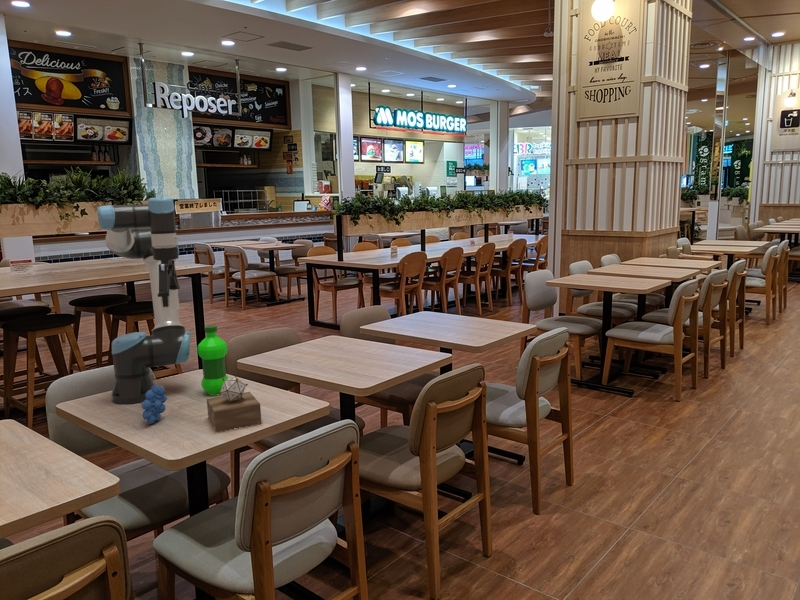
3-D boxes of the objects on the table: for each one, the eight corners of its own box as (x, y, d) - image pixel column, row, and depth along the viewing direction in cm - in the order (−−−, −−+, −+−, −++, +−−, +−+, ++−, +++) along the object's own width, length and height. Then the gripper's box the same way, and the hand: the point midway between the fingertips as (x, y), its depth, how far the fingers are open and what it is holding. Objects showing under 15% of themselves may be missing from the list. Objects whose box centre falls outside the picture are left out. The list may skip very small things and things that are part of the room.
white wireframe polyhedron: (240, 412, 196) (250, 391, 190) (213, 407, 192) (223, 385, 187) (242, 391, 202) (251, 371, 197) (216, 386, 199) (225, 365, 194)
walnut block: (208, 419, 199) (206, 399, 198) (251, 411, 206) (249, 391, 204) (216, 433, 187) (214, 411, 186) (261, 424, 193) (260, 403, 192)
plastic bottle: (234, 388, 230) (229, 323, 226) (224, 397, 220) (218, 329, 216) (208, 388, 231) (202, 323, 227) (197, 397, 221) (191, 330, 216)
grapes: (155, 414, 205) (152, 379, 203) (173, 415, 203) (170, 380, 201) (133, 427, 193) (129, 390, 191) (151, 428, 192) (148, 391, 190)
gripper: (170, 249, 182) (176, 319, 185) (183, 243, 206) (189, 305, 209) (143, 250, 180) (150, 321, 184) (160, 244, 205) (166, 306, 208)
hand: (171, 313), depth 197 cm, fingers open, 13 cm apart
